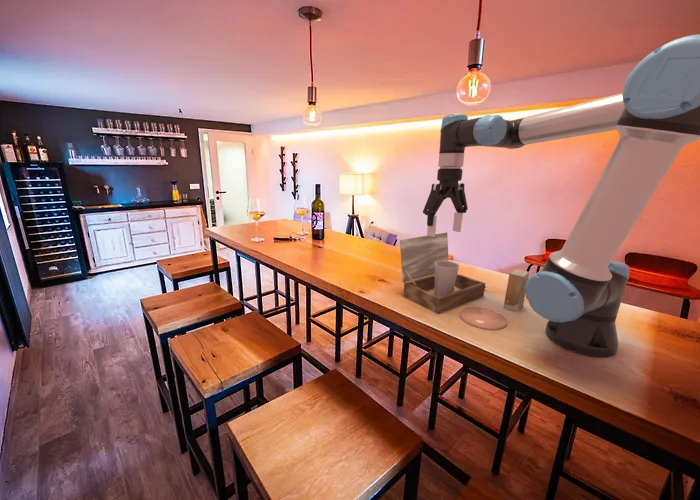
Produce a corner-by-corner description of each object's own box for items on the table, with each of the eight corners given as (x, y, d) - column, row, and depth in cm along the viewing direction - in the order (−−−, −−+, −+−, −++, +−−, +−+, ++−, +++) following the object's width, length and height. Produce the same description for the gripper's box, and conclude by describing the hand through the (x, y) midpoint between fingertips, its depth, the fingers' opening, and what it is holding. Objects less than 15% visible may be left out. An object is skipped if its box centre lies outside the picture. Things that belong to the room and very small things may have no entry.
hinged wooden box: (483, 296, 105) (491, 242, 99) (438, 313, 91) (444, 252, 86) (440, 279, 120) (445, 232, 114) (396, 292, 106) (399, 239, 101)
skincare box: (509, 302, 100) (515, 268, 97) (523, 306, 97) (530, 271, 94) (502, 307, 96) (508, 272, 93) (517, 312, 93) (524, 276, 90)
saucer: (515, 321, 87) (515, 319, 87) (490, 334, 80) (490, 332, 80) (475, 305, 97) (476, 303, 97) (450, 315, 90) (451, 313, 90)
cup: (456, 302, 99) (460, 269, 96) (432, 300, 101) (435, 267, 98) (453, 293, 107) (457, 261, 104) (430, 290, 108) (433, 260, 105)
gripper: (463, 168, 103) (457, 228, 108) (414, 167, 89) (410, 235, 94) (483, 168, 97) (475, 231, 102) (434, 167, 83) (428, 240, 88)
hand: (444, 233), depth 98 cm, fingers open, 13 cm apart
